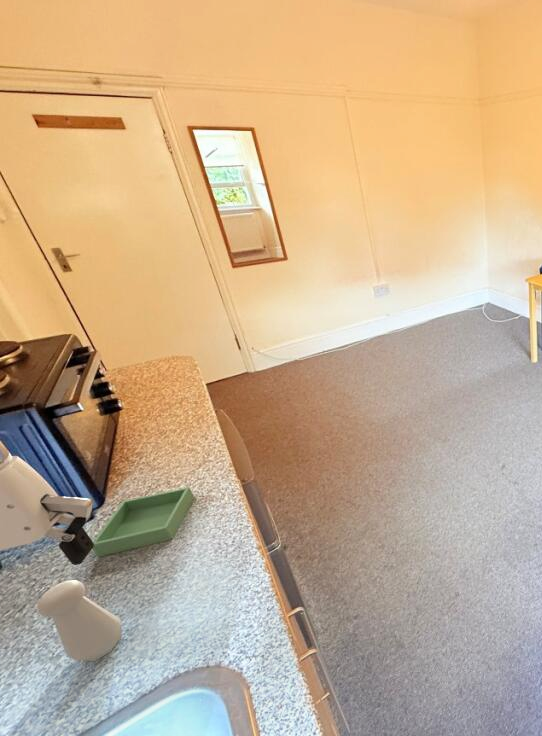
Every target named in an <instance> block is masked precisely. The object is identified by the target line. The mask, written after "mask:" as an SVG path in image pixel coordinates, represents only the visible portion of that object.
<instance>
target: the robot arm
mask: <svg viewBox="0 0 542 736" xmlns="http://www.w3.org/2000/svg"><path fill="white" fill-rule="evenodd" d="M93 505H94V500H93V499H91V498H86V497H85V498H84V497H73V496H60V495H58V493H57V492H56V491H55V490H54V488H53V487H52V486H51V485H50V484H49V482H47V481H46V479H44V478H43V476H42V475H41V474H39V472H38V471H36V470H35V469H34V468H33V467H32V466H31V465H29V464H28V463H27V462H26V461H25V460H23V459H22V458H21V457H19V456H18V455H12V454H11V453H10V451H9V450H8V449H7V447H6V446H5V445H4V443H3V442H2V441H1V440H0V551H5V550H8V549H9V550H10V549H12V548H17V547H21V546H25V545H29V544H33V543H36V542H39V541H40V540H42V539H43V538H45V537H46V538H49V539H53V540H56V541H60V542H59V544H58V548H59V549H60V550H61V552H62V553H63V554H64V556H65V557H66V558H67V560H68V561H69V562H70V563H71V565H73V566H77V565H81V564H82V563H83V562H84V561H85V559H86V558H87V556H88V555H89V554H90V553H91V551H93V549H92V548H93V547H94V543H93V541H94V540H92V538H91V537H90V536H89V534H88V533H87V531H86V530H85V529H84V526H85V525H86V524H87V522H88V520H90V518H91V517H92V516H93V512H92V511H93ZM69 513H71V514H69ZM57 523H58V524H61V525H64V526H67V528H66V529H63V528H60V527H57V526H55V524H57ZM2 569H3V564H2V563H1V562H0V571H2Z"/></svg>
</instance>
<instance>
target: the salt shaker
mask: <svg viewBox="0 0 542 736" xmlns="http://www.w3.org/2000/svg"><path fill="white" fill-rule="evenodd" d="M85 595H86V587H85V585H84V583H82V582H81V581H79V580H77V579H71V580H70V579H69V580H65V581H62V582H60V583H57V584H55V585H54V586H52V587H51V588H49V589H48V590H47V591H46V592H44V593H43V594H42V595H41V597H40V598H39V600H38V601H37V603H36V609H37V611H38V613H40V614H41V615H43V616H45V617H46V618H47V617H48V618H51V619H52V622H53V623H54V626H55V629H56V632H57V634H58V637H59V639H60V641H61V644H62V646H63V650H64V651H65V654H66V657H68V658H69V659H71V660H73V661H76V662H87V661H88V662H96V661H98V660H100V659H101V658H103V657H105V656H106V655H109V653H111V652H112V651H113V650H114V648H116V646H117V644H118V643H119V641H120V640H121V638H122V630H123V625H122V620H121V618H120V617H118V616H116V615H115V614H113V613H111V612H109V611H108V610H107V609H105V608H103V607H102V606H100V605H99V604H97V603H95V602H94V601H93V600H91V599H89V598H88V597H86V596H85Z"/></svg>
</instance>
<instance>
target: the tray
mask: <svg viewBox="0 0 542 736" xmlns="http://www.w3.org/2000/svg"><path fill="white" fill-rule="evenodd" d="M195 498H196V497H195V495H194V493H193V491H192V489H191V488H190V486H187V487H183V488H178V489H173V490H168V491H163V492H159V493H154V494H150V495H149V494H148V495H144V496H139V497H134V498H130V499H125V500H123V501H122V502H121V503H120V505H119V506H118V507H117V509H116V510H115V511H114V512H113V514H112V515H111V516H110V518H109V519H108V520H107V522H106V523H105V524H104V526H103V527H102V529H101V530H100V532H98V534H97V535H96V537H95V538H94V539H93V540H92V541H93V543H94V547H93V548H92V551H93V552H94V553H95V554H96V556H97V557H98V558H100V557H103V556H104V557H105V556H108V555H112V554H116V553H120V552H125V551H129V550H134V549H137V548H142V547H145V546H149V545H154V544H159V543H162V542H165V541H170V540H174V537H175V536H176V533H177V532H178V529H179V528H180V526H181V524H182V522H183V521H184V519H185V517H186V515H187V513H188V511H189V510H190V508H191V505H192V503H193V502H194V500H195Z"/></svg>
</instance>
